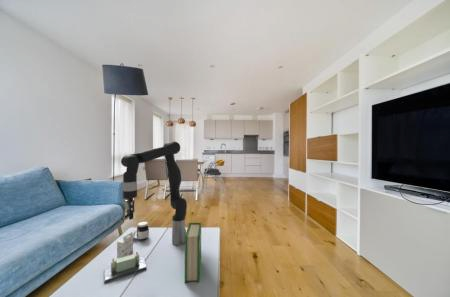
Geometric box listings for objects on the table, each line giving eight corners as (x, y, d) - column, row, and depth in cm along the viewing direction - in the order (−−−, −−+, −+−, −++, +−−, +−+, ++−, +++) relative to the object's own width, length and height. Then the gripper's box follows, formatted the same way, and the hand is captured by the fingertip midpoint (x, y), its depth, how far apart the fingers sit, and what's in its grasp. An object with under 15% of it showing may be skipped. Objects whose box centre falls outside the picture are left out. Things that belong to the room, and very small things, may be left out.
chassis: (142, 259, 114) (142, 246, 114) (146, 269, 104) (146, 256, 104) (104, 270, 103) (104, 257, 103) (104, 283, 93) (104, 268, 93)
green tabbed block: (138, 261, 109) (138, 252, 109) (139, 265, 106) (139, 256, 106) (110, 269, 101) (111, 260, 102) (111, 274, 98) (111, 264, 98)
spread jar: (150, 239, 140) (150, 223, 140) (134, 244, 132) (134, 228, 133) (144, 233, 149) (144, 219, 149) (129, 238, 141) (129, 223, 141)
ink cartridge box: (126, 253, 120) (126, 230, 121) (133, 254, 119) (133, 231, 120) (116, 260, 112) (116, 236, 112) (123, 261, 111) (123, 237, 111)
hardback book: (199, 282, 94) (199, 235, 95) (184, 283, 94) (185, 236, 94) (200, 261, 112) (201, 222, 112) (188, 262, 111) (189, 222, 112)
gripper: (139, 190, 103) (139, 219, 103) (135, 186, 115) (135, 212, 115) (124, 192, 99) (124, 222, 99) (121, 188, 111) (121, 214, 111)
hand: (130, 216), depth 107 cm, fingers open, 8 cm apart
